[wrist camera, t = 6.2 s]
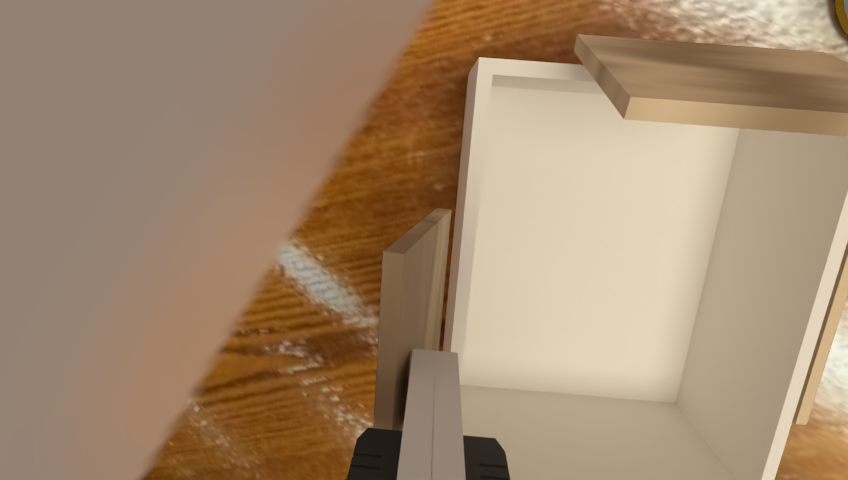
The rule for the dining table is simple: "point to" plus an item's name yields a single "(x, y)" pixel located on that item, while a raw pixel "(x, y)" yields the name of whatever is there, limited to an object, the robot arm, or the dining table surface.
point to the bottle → (842, 13)
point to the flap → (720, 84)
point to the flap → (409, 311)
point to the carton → (638, 282)
